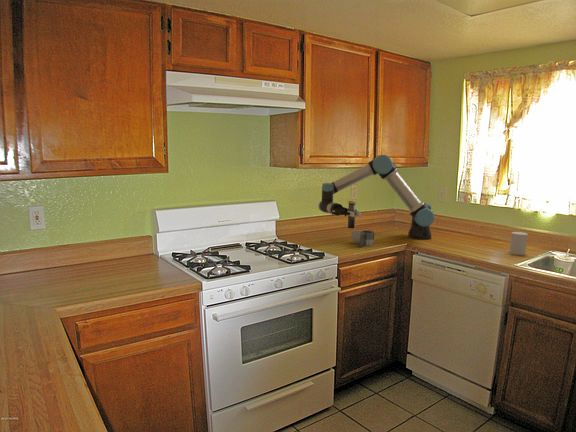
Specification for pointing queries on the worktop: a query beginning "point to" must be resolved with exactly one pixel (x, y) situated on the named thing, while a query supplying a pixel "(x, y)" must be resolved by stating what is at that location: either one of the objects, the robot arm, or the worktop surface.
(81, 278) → the worktop surface
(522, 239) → the cup
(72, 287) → the worktop surface
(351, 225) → the hinge pin
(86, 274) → the worktop surface
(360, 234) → the hinge
